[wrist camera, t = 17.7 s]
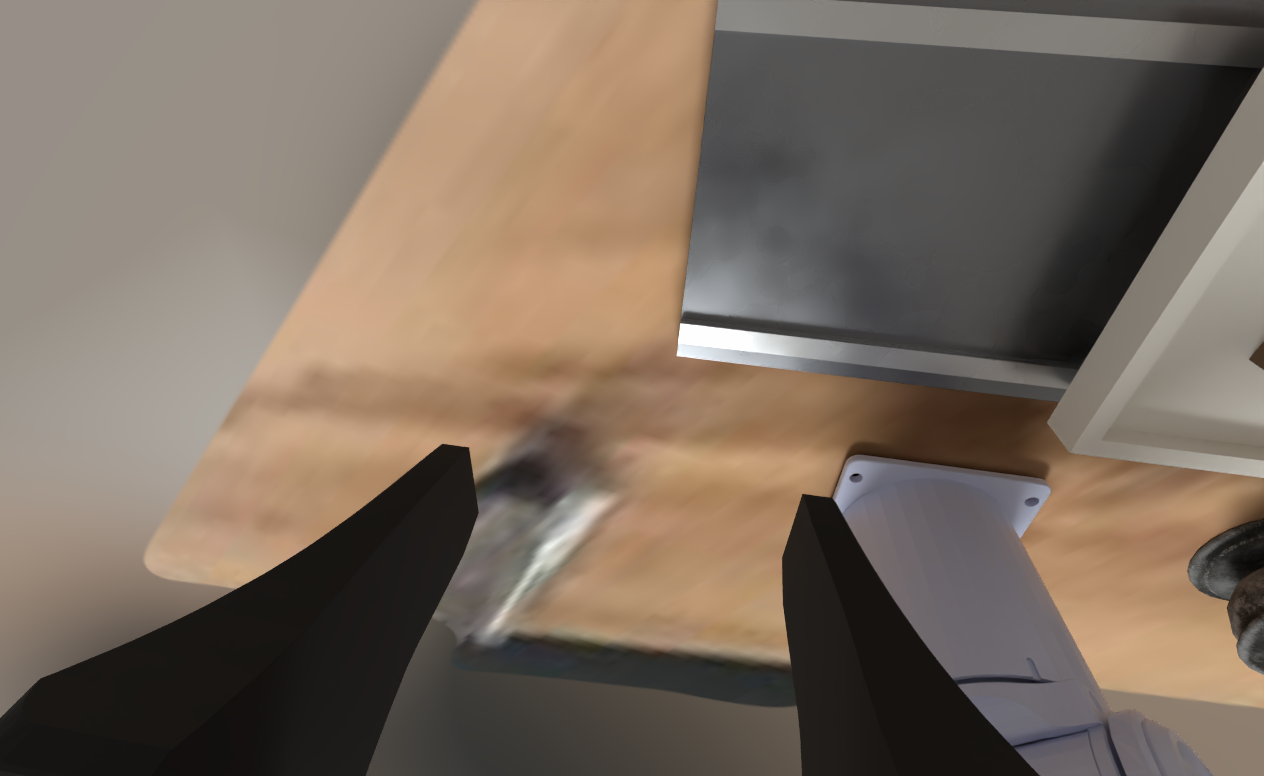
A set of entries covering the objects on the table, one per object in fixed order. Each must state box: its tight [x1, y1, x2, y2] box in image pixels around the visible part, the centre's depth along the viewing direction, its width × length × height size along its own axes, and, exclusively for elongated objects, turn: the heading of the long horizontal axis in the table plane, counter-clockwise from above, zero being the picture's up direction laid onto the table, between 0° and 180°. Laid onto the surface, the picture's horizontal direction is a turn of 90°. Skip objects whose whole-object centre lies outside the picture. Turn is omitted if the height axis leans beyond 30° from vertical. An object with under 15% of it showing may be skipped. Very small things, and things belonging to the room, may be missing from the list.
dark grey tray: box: [677, 0, 1264, 402], centre depth 16 cm, size 12×24×2 cm, turn 87°
